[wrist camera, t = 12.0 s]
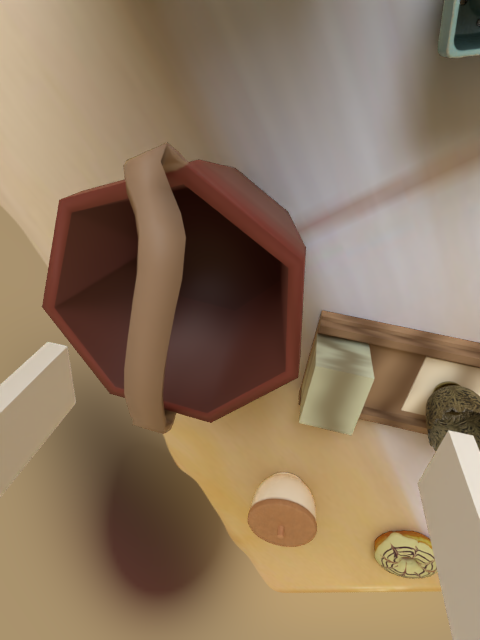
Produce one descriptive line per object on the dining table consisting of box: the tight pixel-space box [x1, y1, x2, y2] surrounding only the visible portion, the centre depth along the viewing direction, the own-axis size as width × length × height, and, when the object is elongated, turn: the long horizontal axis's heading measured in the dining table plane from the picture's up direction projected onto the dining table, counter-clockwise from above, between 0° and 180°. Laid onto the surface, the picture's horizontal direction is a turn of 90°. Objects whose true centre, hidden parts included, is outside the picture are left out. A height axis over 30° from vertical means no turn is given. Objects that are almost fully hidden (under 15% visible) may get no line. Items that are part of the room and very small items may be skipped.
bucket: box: [42, 142, 306, 434], centre depth 36 cm, size 24×22×25 cm
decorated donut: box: [375, 531, 438, 579], centre depth 67 cm, size 10×11×4 cm
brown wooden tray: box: [299, 310, 480, 435], centre depth 48 cm, size 24×14×8 cm, turn 83°
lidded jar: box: [248, 472, 317, 547], centre depth 63 cm, size 11×11×9 cm
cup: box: [425, 381, 480, 451], centre depth 46 cm, size 8×7×8 cm
